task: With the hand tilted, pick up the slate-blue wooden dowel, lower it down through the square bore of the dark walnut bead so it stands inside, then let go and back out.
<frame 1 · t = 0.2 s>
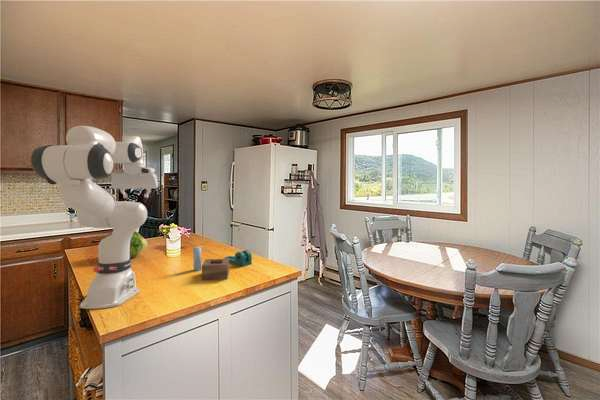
hand: (136, 197, 146), 39 cm above the countertop, fingers open, 8 cm apart
teal elongated piece: (236, 263, 174), on the countertop
blue dowel: (197, 269, 159), on the countertop
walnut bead: (216, 275, 150), on the countertop
lettuce: (126, 258, 181), on the countertop
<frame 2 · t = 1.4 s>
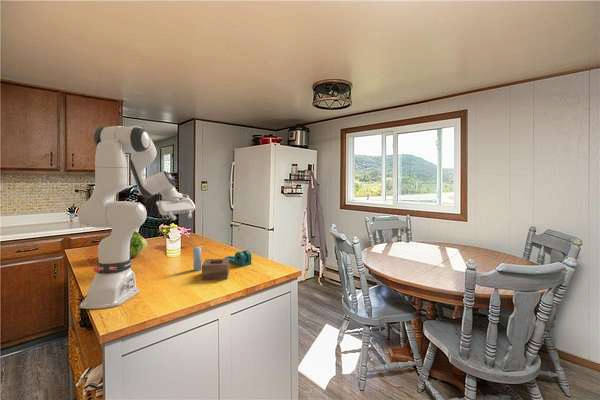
hand: (182, 218, 165), 27 cm above the countertop, fingers open, 8 cm apart
nothing on the countertop moved.
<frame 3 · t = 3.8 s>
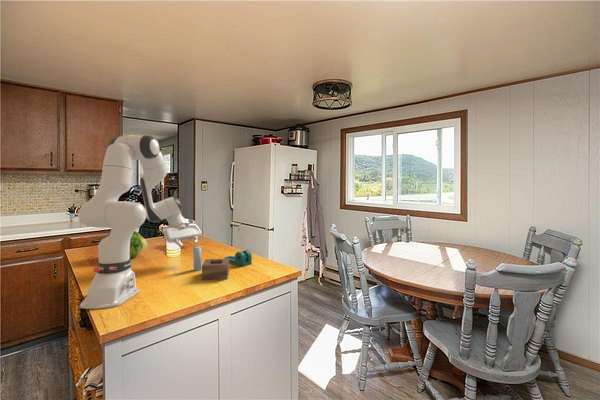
hand: (189, 245, 163), 12 cm above the countertop, fingers open, 8 cm apart
nothing on the countertop moved.
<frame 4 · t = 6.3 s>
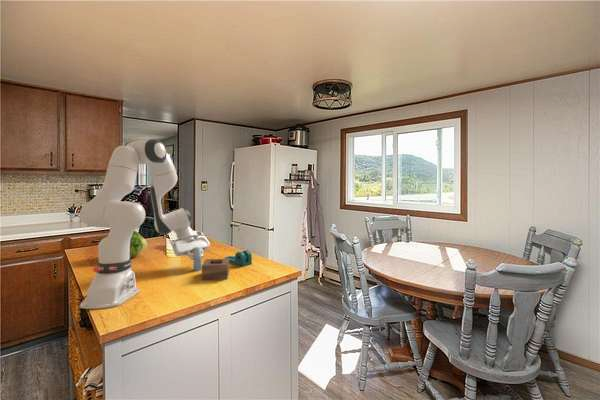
hand: (198, 258, 158), 6 cm above the countertop, fingers closed on blue dowel, 4 cm apart
blue dowel: (197, 269, 159), on the countertop, touching gripper
everything else where it was.
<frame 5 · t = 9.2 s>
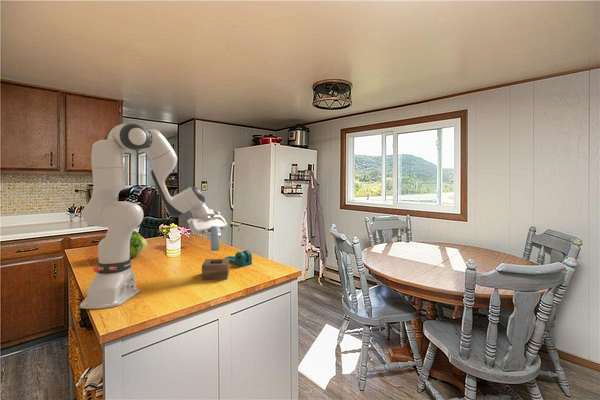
hand: (215, 237, 149), 19 cm above the countertop, fingers closed on blue dowel, 4 cm apart
blue dowel: (214, 250, 150), point 13 cm above the countertop, touching gripper
everything else where it was.
when the fingers open (9 cm above the countertop, at t = 12.2 s): blue dowel drops 2 cm, resting in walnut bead.
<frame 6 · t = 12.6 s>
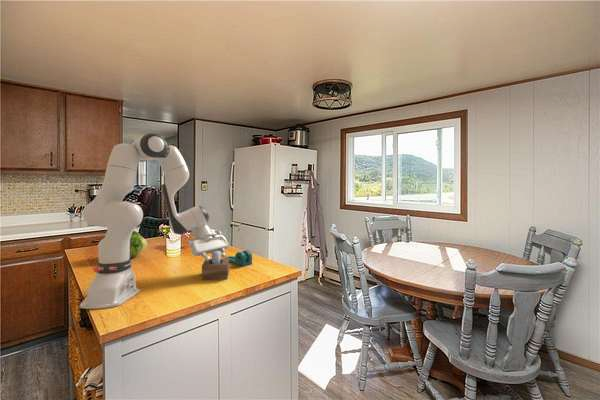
hand: (216, 258, 149), 9 cm above the countertop, fingers open, 8 cm apart
blue dowel: (216, 275, 150), resting in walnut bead
everything else where it was.
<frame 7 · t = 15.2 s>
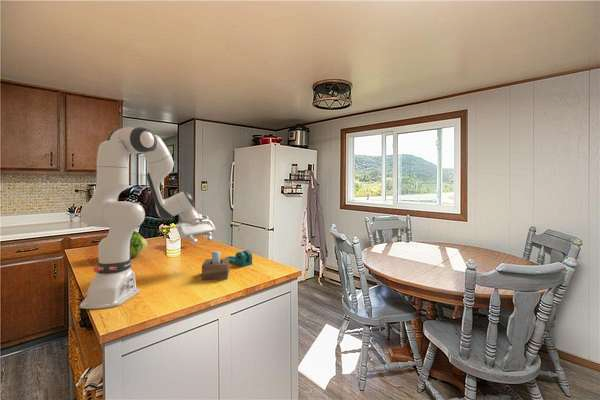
hand: (203, 241, 155), 16 cm above the countertop, fingers open, 8 cm apart
nothing on the countertop moved.
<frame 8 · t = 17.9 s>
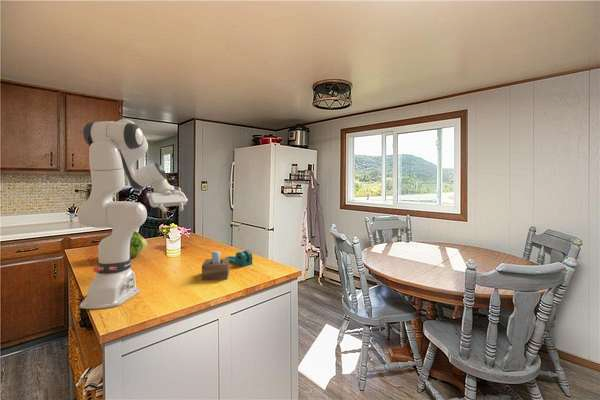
hand: (174, 210, 160), 31 cm above the countertop, fingers open, 8 cm apart
nothing on the countertop moved.
at the end: blue dowel 0.1 cm off-centre on the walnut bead, point 0.0 cm above the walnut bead's base; blue dowel tilted 0°; the gripper is holding nothing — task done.
